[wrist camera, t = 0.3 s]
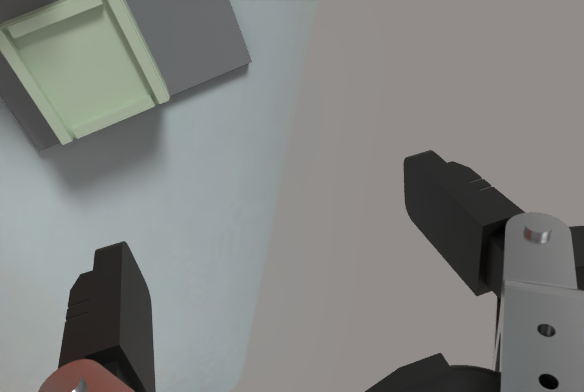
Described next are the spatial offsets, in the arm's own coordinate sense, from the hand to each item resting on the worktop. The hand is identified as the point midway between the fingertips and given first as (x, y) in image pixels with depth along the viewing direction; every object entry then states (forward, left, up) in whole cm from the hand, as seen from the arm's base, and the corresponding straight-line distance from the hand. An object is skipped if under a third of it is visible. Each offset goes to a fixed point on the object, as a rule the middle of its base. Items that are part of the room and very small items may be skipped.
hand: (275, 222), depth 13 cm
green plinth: (-2, -6, -27) cm, 28 cm away
